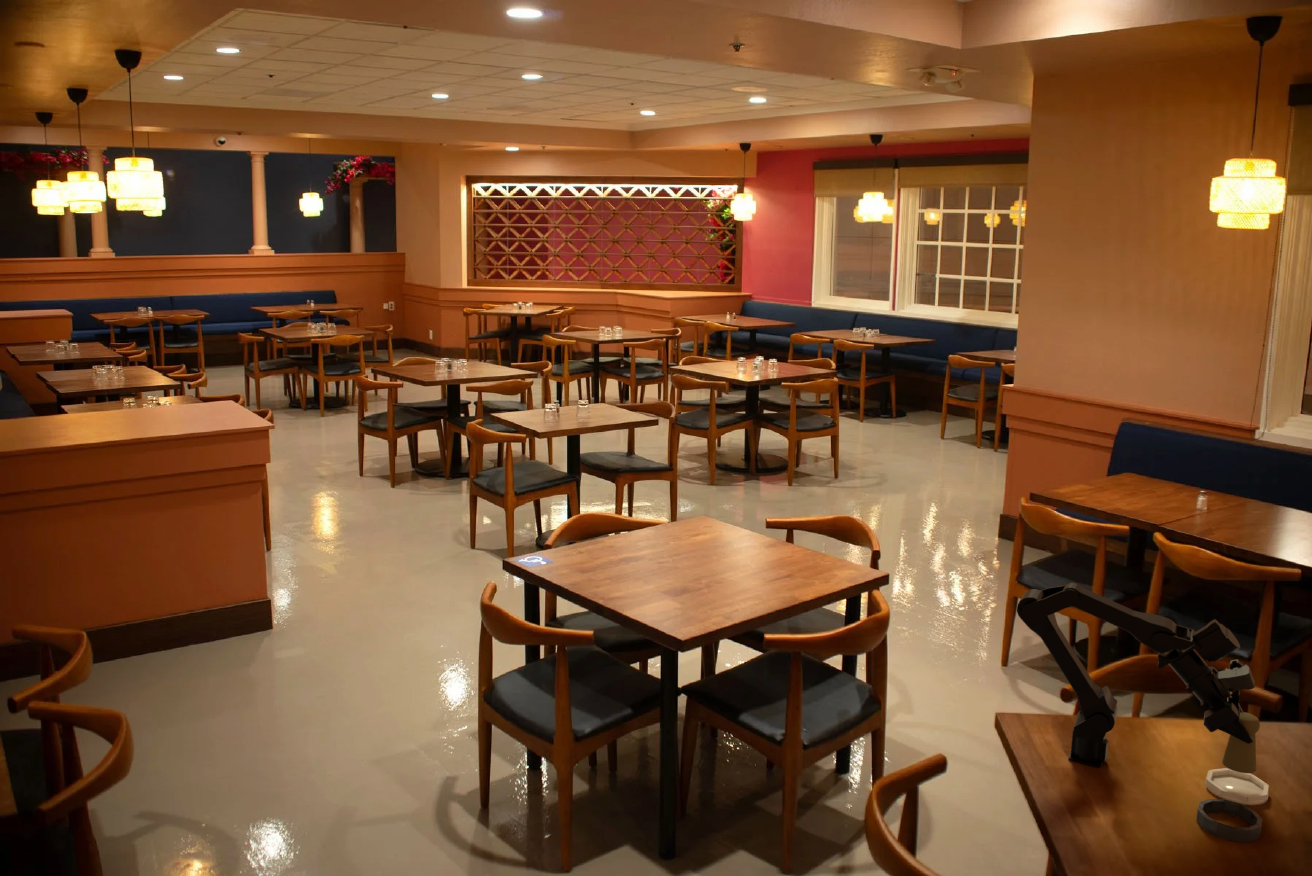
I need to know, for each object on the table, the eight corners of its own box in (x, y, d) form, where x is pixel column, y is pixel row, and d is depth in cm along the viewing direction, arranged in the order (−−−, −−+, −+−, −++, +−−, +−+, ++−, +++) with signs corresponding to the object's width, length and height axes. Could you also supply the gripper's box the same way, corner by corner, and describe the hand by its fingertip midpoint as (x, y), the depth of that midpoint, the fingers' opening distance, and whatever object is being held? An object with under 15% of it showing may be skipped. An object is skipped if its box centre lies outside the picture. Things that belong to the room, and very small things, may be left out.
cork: (1263, 770, 209) (1270, 719, 207) (1239, 775, 207) (1246, 723, 205) (1238, 756, 214) (1245, 706, 212) (1215, 760, 212) (1221, 710, 210)
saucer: (1202, 794, 210) (1202, 786, 210) (1208, 770, 220) (1209, 762, 219) (1266, 811, 204) (1267, 802, 204) (1270, 786, 214) (1271, 778, 213)
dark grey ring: (1193, 830, 198) (1195, 818, 197) (1200, 804, 207) (1202, 793, 206) (1257, 848, 192) (1259, 836, 192) (1262, 821, 201) (1263, 809, 200)
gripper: (1231, 669, 200) (1290, 736, 197) (1231, 636, 216) (1285, 698, 213) (1180, 698, 205) (1237, 764, 202) (1184, 664, 221) (1236, 725, 218)
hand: (1250, 736), depth 209 cm, fingers closed on cork, 5 cm apart
